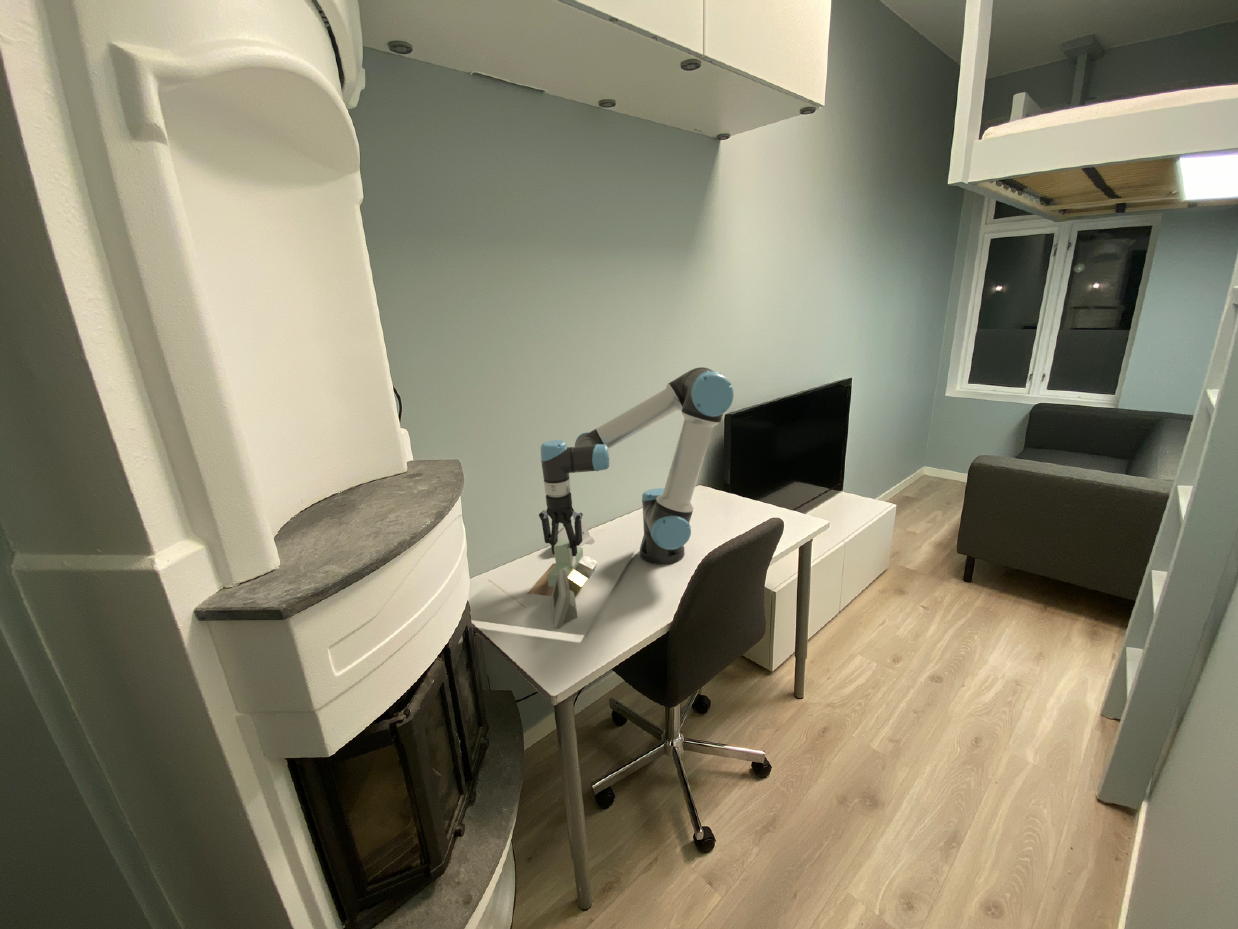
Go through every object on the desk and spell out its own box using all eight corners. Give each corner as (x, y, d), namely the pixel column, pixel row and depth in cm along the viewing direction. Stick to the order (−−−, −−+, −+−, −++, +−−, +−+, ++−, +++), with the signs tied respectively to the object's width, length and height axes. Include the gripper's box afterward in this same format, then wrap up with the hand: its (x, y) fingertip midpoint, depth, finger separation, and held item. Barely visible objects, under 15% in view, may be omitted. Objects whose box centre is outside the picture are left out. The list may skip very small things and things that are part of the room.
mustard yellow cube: (580, 590, 157) (587, 578, 155) (574, 598, 153) (581, 587, 151) (567, 581, 158) (573, 569, 156) (560, 589, 154) (567, 577, 151)
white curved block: (566, 561, 176) (555, 534, 175) (556, 562, 179) (546, 536, 178) (595, 541, 189) (585, 516, 188) (586, 543, 192) (576, 518, 191)
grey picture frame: (551, 600, 153) (548, 568, 150) (582, 599, 153) (579, 566, 150) (542, 633, 138) (537, 598, 135) (575, 632, 137) (572, 597, 134)
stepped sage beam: (583, 558, 168) (580, 530, 165) (561, 587, 152) (557, 557, 149) (572, 557, 169) (569, 529, 166) (548, 586, 153) (544, 555, 150)
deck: (578, 569, 170) (578, 565, 170) (555, 601, 153) (554, 596, 152) (553, 567, 173) (553, 563, 172) (527, 597, 156) (527, 593, 155)
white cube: (593, 573, 166) (598, 561, 164) (587, 581, 162) (592, 569, 160) (579, 566, 167) (584, 554, 165) (573, 574, 163) (578, 562, 161)
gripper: (526, 496, 152) (535, 567, 159) (580, 499, 146) (587, 572, 153) (537, 487, 159) (546, 556, 166) (589, 489, 153) (596, 560, 160)
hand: (565, 564), depth 159 cm, fingers closed on stepped sage beam, 4 cm apart
